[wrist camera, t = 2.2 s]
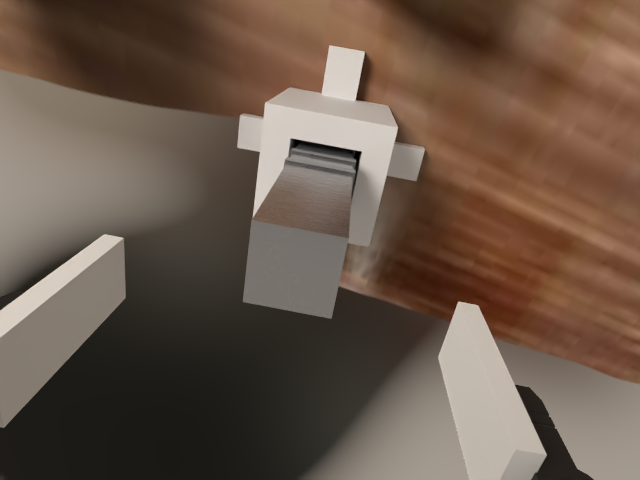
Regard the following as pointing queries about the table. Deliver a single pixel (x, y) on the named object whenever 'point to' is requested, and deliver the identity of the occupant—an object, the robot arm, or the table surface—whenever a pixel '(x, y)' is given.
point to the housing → (333, 137)
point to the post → (302, 232)
